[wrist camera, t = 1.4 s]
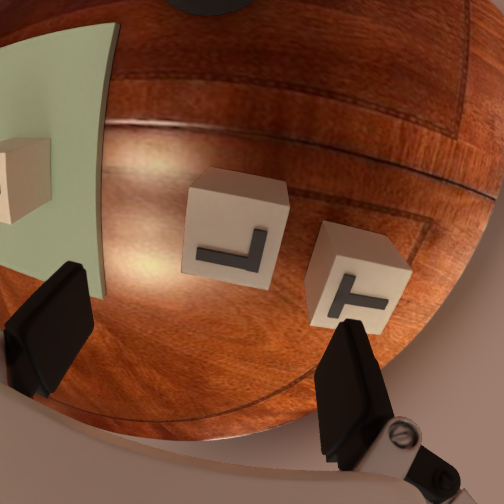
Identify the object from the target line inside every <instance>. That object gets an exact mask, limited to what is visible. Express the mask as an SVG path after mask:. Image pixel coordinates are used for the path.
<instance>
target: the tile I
mask: <svg viewBox="0 0 504 504" xmlns="http://www.w3.org/2000/svg"><path fill="white" fill-rule="evenodd" d="M50 144H51V139H50V138H10V139H7V140H4V141H1V142H0V222H3V223H7V224H10V225H12V224H13V223H15V222H16V221H18V220H19V219H21V218H22V217H24V216H26V215H27V214H29V213H30V212H32V211H34V210H35V209H37V208H39V207H40V206H42V205H44V204H45V203H47V202H49V201H51V178H50Z"/></svg>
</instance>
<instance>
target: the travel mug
mask: <svg viewBox="0 0 504 504" xmlns="http://www.w3.org/2000/svg"><path fill="white" fill-rule="evenodd" d="M165 1H167V2H168V3H169V4H171V5H172V6H174V7H175V8H177V9H179V10H181V11H183V12H186V13H189V14H193V15H201V16H212V15H220V14H225V13H229V12H232V11H235V10H238V9H240V8H242V7H244V6H246V5H247V4H249V3H251V2H252V1H253V0H165Z"/></svg>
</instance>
